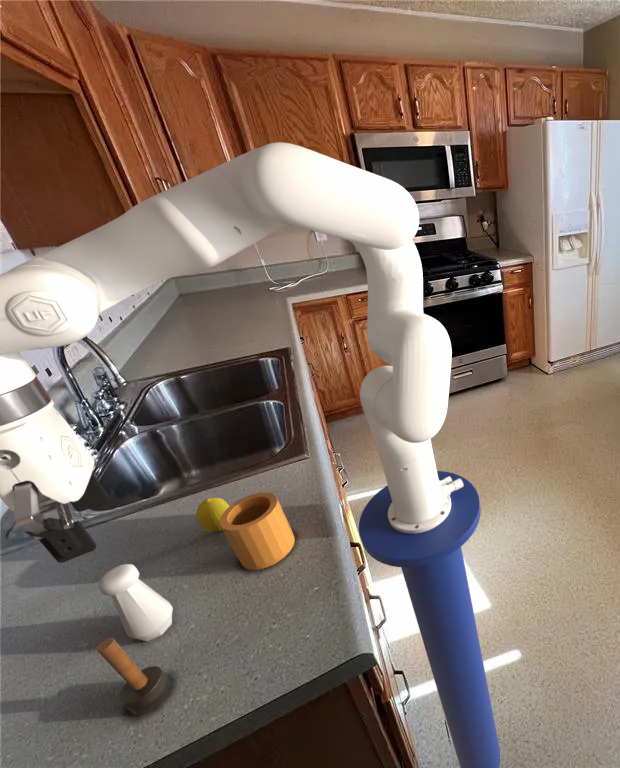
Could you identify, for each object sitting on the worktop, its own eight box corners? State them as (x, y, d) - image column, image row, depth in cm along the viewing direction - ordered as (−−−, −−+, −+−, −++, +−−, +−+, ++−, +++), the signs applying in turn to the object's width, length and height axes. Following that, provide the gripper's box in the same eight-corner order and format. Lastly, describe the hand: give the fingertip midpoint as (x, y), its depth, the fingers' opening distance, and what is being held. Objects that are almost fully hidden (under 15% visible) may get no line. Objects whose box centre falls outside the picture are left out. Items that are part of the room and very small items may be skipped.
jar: (290, 523, 84) (273, 485, 80) (299, 552, 77) (281, 512, 73) (239, 546, 80) (218, 507, 75) (243, 579, 73) (220, 539, 68)
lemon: (200, 541, 82) (182, 511, 78) (217, 520, 87) (201, 491, 83) (228, 539, 82) (211, 509, 78) (243, 518, 87) (228, 488, 83)
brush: (172, 670, 60) (130, 619, 54) (171, 699, 56) (126, 647, 51) (132, 692, 58) (84, 641, 52) (128, 723, 54) (76, 672, 49)
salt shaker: (175, 633, 65) (134, 579, 59) (130, 654, 62) (82, 599, 56) (180, 604, 69) (142, 550, 63) (138, 622, 67) (95, 568, 61)
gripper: (20, 428, 37) (117, 559, 45) (64, 368, 50) (134, 478, 58) (-108, 463, 34) (22, 598, 42) (-25, 388, 47) (62, 503, 54)
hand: (87, 528), depth 50 cm, fingers open, 9 cm apart
